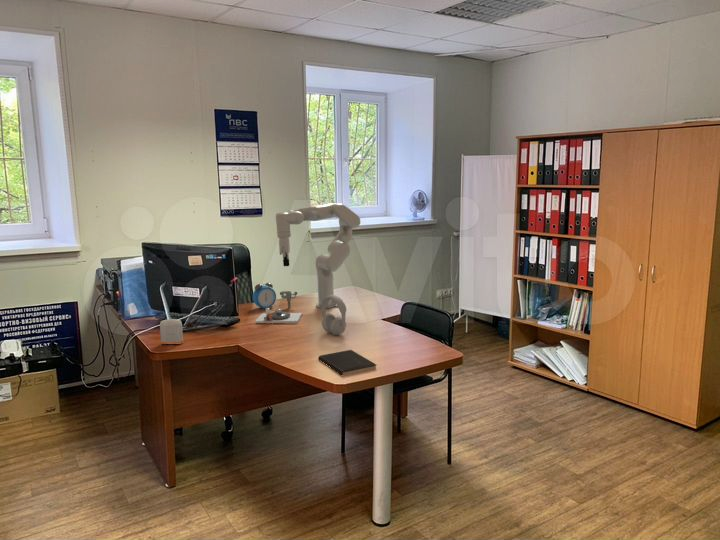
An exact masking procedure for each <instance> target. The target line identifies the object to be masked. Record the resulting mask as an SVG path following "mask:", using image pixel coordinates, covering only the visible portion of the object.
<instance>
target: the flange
mask: <svg viewBox="0 0 720 540" xmlns="http://www.w3.org/2000/svg"><path fill="white" fill-rule="evenodd" d="M270 308H271V307H269V308H265V313H266V317H264V320H269V315H272V318H273V319H285V318H288V317H290V313H291V312H288V311H283V309H282V308H276V309H275V312H271V309H270Z"/></svg>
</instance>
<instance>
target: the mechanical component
mask: <svg viewBox="0 0 720 540" xmlns="http://www.w3.org/2000/svg"><path fill="white" fill-rule="evenodd" d="M279 295H280V296H281V298H282V299H286V301H287V309H291V301H292V299H295V298H296V297H297V295H298V291H294V292H293V293H292V291H290V290H289V291H288V290H287V291H286V290H285V291H283V290H282V291H280V292H279Z"/></svg>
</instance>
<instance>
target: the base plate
mask: <svg viewBox="0 0 720 540" xmlns="http://www.w3.org/2000/svg"><path fill="white" fill-rule="evenodd" d="M289 313H290V317H288V318H285V319H273V318H272V315H269V320H264V317H266V312H265V313H264V312H263V313H261V314H260V315H259V316H258V317H257V318H256V320H255V321H254V322H255V323H272V324H271V325H274V324H273V323H285V324H286V325H289V324H290V325H291V324H293V325H295V324H297V325H298V324H299V323H300V320H301V319H302V317H303V313H302V312H289ZM300 318H301V319H300Z"/></svg>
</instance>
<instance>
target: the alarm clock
mask: <svg viewBox="0 0 720 540" xmlns="http://www.w3.org/2000/svg"><path fill="white" fill-rule="evenodd" d="M273 287H274V286H273V284H272V283H271V282H266V283H265V284H261V283H258V284H256V285H255V286H254V291H253V293H252V301H253V303H254V305H256V306H257V307H259V308H260V310H262V309H266V308H271V307H272V306H273V305H274V304H275V303H276V300H277V294H276V291H275V290H274V288H273Z"/></svg>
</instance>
